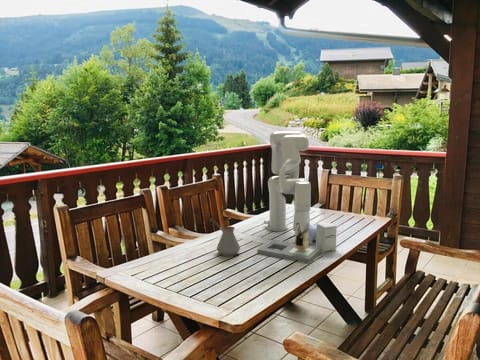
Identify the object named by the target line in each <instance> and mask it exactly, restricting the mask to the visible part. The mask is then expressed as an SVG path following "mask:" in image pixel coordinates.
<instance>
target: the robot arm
mask: <svg viewBox="0 0 480 360" xmlns="http://www.w3.org/2000/svg"><path fill="white" fill-rule="evenodd" d="M269 144H270V148H271V172H272V174H275V175H273V176H271V177H269V179H268V180H267V187H268V192H269V219H264V220H263V223H264V224H265V225H266V229H267V230H268V231H273V232H283V231H287V230H288V229H289V226H288V225H287V224H286V220H287V219H286V218H287V217H286V214H287V210H286V209H287V205H286V204H287V203H286V202H287V201H286V200H287V199H286V197H285V196H284V195H283V194H285V195H294V207H293V209H294V213H293V221H292V222H293V223H292V225H293V227H292V230H293V231H294V235H295V234H296V245H298V246H303V238H302V235H303V231H308V228H309V225H311V224H310V222H311V221H310V219H311V218H310V214H311V213H310V211H311V198H312V197H311V195H312V194H311V190H312V186H311V185H312V184H311V182H310V181H308V179H307V178H305V177H304V178H303V177H300V164H301V162H302V159H301V158H302V157H301V155H300V152H304V151H307V150H308V149H309V146H310V145H309V144H310V143H309V139H308V137H307V135H306V134H305V133H303V132H301V131H299V130H298V131H296V130H295V131H292V130H291V131H289V130H288V131H287V130H286V131H284V130H283V131H282V130H281V131H273V132H271V133H270V135H269ZM299 177H300V178H299ZM299 230H301V231H299ZM299 232H300V233H301V235H300V233H299Z"/></svg>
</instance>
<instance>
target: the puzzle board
mask: <svg viewBox="0 0 480 360" xmlns="http://www.w3.org/2000/svg"><path fill="white" fill-rule="evenodd" d="M274 248H275V249H274ZM256 250H257V254H259V255H263V256H264V255H265V256H270V257H275V258H279V259H280V258H281V259H284V260H290V259H292V260H291V261H295V260H298V261H297V262H301V261H303V262H302V263H306V262H307V264H310V263H311V262H313V260H315V259H316V258H317V257H318V256H319V255H320V254H322V250H321V249H319V248H316V247H312V246H309V247H308V248H307V249H306V250H300V249H295V243H290V242H289V243H288V242H283V241H278V240H277V241H276V240H271V241H268V242H267V243H266V244H264V245H262V246H261V247H259V248H257V249H256ZM314 258H315V259H314Z"/></svg>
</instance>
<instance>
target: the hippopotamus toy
mask: <svg viewBox="0 0 480 360" xmlns="http://www.w3.org/2000/svg"><path fill="white" fill-rule="evenodd" d="M316 229H317V224H310V225H309V228H308V231H309V245H312V244H314V243H313V241H316Z"/></svg>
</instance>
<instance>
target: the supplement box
mask: <svg viewBox="0 0 480 360" xmlns="http://www.w3.org/2000/svg"><path fill="white" fill-rule="evenodd" d="M316 226H317V229H316V240H315V248H319V249H321V252H328V251H335V250H336V249H337V247H336V246H337V229H338V228H337V225H336V224H333V223H330V222H324V223H323V222H321V223H316Z"/></svg>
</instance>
